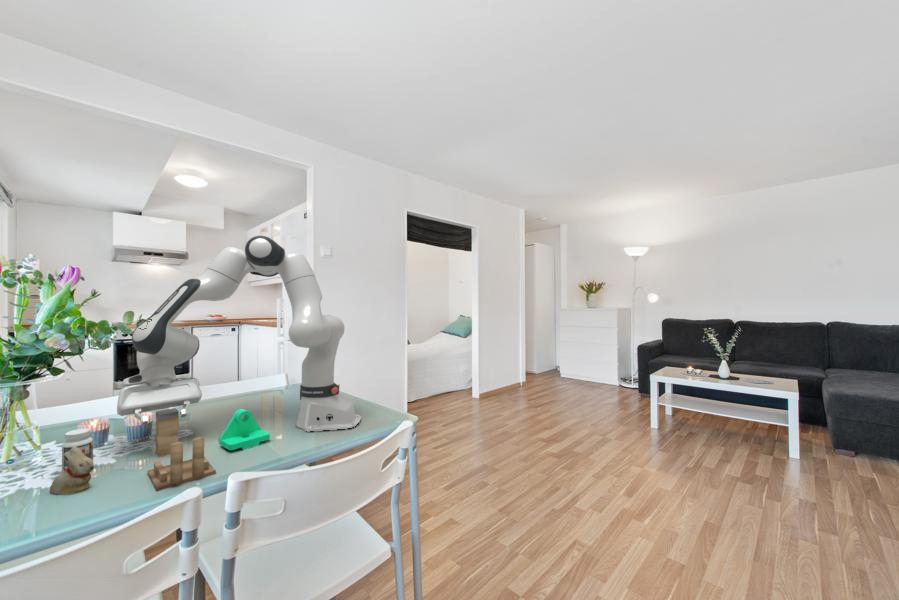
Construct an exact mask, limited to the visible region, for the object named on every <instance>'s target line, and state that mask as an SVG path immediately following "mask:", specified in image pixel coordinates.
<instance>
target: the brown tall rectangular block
mask: <svg viewBox="0 0 899 600" xmlns="http://www.w3.org/2000/svg"><path fill="white" fill-rule="evenodd" d="M179 415H180V411H179V410H178V409H177V408H176V407H171V408H165V409H159V410H155V447H154V448H155V449H154V450H155V454H156V456H157V458H161V457H165V456H171V444H173V443H176V442H179V417H180V416H179Z"/></svg>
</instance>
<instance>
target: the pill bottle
mask: <svg viewBox="0 0 899 600" xmlns="http://www.w3.org/2000/svg"><path fill="white" fill-rule="evenodd" d="M90 435H91V428H76V429H72V430H69V431H68V432H65V433H64V439H65V440H66V441H65V442H63V443H62V446H61V470H62V471H61V473H63V472H65V471H66V470H67V468H68V466H67V463H66V462H65V460H64V458H63V455H64V453H66V452H68V451H69V450H71V448H73V447H78V448H79V449H80V450H81V451H82V452H83V454H84V455H85V456H86V457H88V458H91V459H92V460H93V461H94V439H93V437H91V436H90Z"/></svg>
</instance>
